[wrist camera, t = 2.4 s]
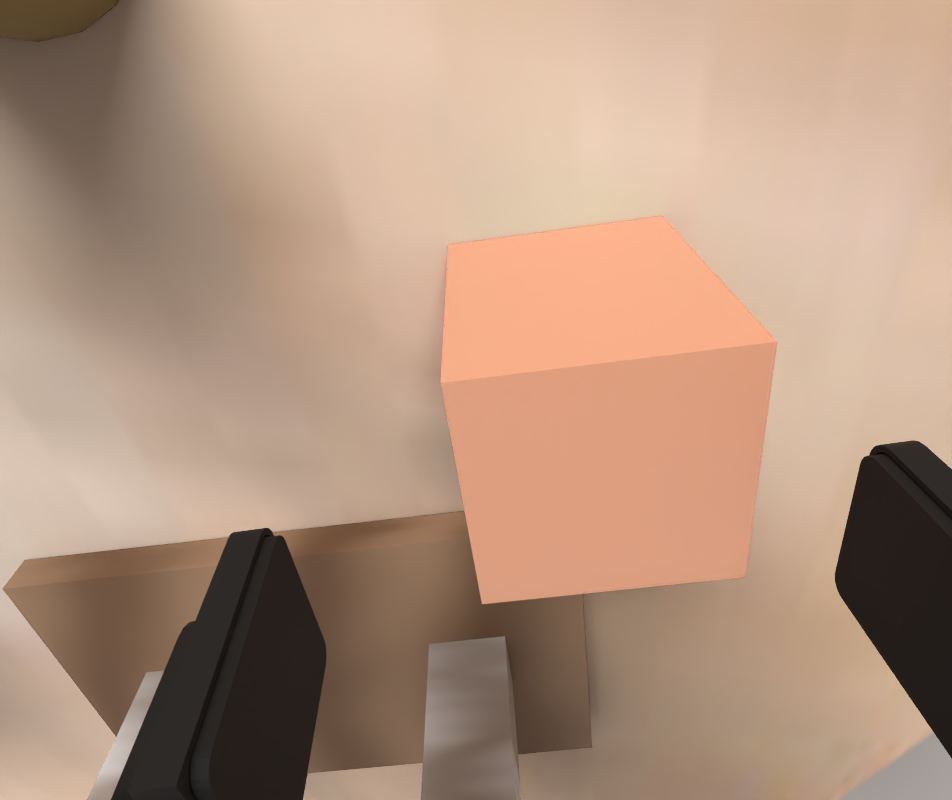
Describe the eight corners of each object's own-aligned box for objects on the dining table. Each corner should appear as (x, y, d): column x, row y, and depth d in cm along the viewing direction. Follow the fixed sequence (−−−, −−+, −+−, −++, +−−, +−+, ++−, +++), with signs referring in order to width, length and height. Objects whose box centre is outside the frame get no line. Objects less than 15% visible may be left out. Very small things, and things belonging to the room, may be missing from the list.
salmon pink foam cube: (662, 216, 15) (776, 341, 10) (657, 397, 18) (745, 576, 13) (448, 244, 16) (440, 383, 10) (476, 419, 18) (481, 604, 13)
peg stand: (572, 498, 20) (630, 765, 13) (586, 718, 26) (631, 975, 19) (24, 560, 21) (-191, 837, 14) (166, 757, 27) (65, 1015, 20)
